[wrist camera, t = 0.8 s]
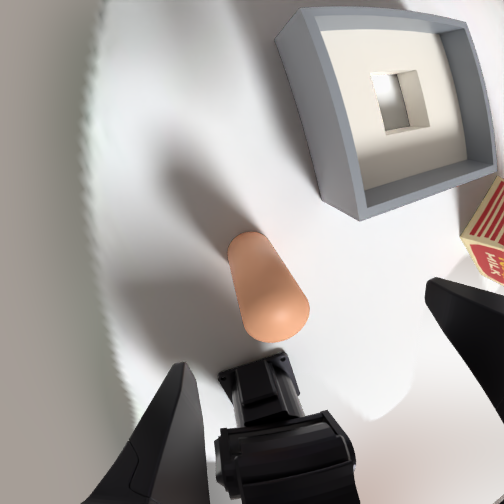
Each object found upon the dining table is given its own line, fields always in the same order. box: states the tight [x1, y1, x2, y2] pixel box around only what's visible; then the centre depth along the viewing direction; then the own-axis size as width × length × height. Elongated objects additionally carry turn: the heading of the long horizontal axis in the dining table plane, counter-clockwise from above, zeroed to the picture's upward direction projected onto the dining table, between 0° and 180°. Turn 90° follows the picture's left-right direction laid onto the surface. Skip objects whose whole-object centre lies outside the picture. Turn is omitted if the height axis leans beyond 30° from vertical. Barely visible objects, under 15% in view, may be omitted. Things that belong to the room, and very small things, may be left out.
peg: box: [227, 232, 310, 343], centre depth 17 cm, size 3×3×8 cm
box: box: [274, 6, 497, 221], centre depth 16 cm, size 12×14×6 cm
